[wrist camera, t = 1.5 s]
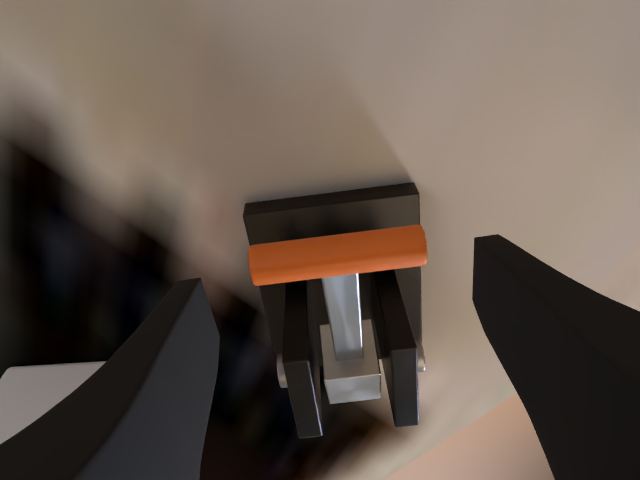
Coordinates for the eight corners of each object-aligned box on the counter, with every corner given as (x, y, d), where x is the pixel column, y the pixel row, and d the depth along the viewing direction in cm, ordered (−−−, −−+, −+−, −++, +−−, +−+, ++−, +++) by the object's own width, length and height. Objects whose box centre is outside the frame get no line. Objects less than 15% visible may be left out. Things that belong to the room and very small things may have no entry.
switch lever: (248, 221, 15) (247, 290, 13) (416, 199, 15) (434, 268, 13) (294, 355, 23) (297, 408, 21) (403, 342, 23) (413, 395, 21)
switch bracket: (244, 203, 24) (224, 309, 17) (414, 181, 23) (461, 280, 17) (279, 355, 29) (274, 483, 22) (417, 339, 29) (454, 463, 22)
